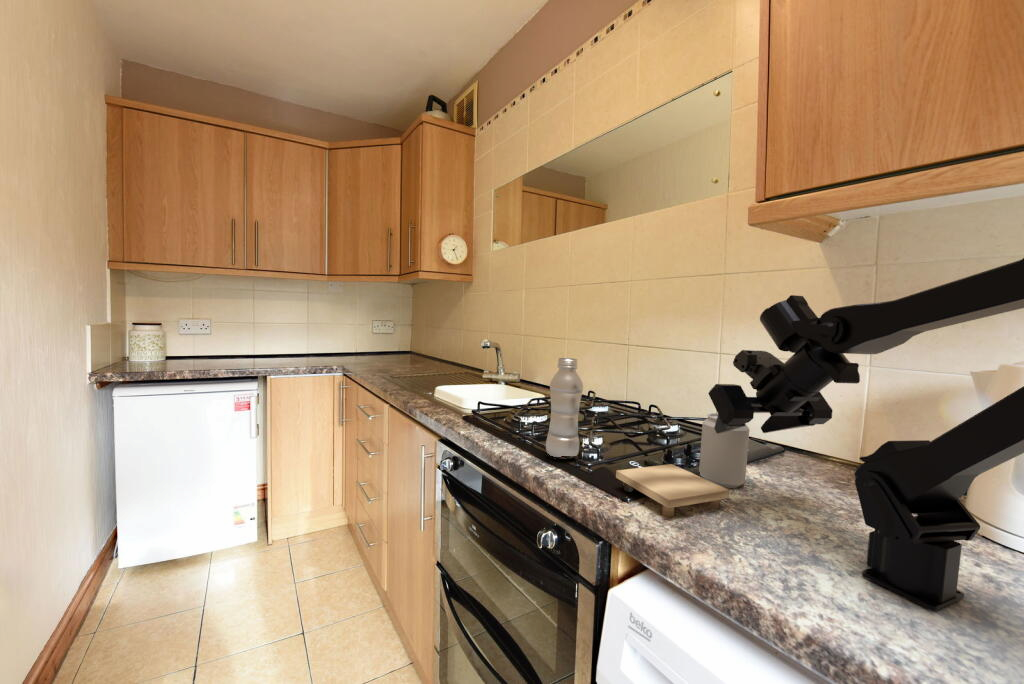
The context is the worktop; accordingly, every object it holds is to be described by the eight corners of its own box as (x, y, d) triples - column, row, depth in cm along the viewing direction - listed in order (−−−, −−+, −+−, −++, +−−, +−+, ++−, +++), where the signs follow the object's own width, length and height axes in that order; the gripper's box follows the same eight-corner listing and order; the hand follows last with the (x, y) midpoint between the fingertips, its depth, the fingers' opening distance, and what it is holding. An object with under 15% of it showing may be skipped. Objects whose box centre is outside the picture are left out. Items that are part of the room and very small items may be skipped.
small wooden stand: (728, 509, 65) (729, 490, 65) (667, 520, 61) (669, 499, 60) (670, 480, 76) (671, 464, 76) (615, 488, 72) (616, 470, 71)
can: (696, 483, 76) (701, 416, 75) (700, 471, 82) (704, 409, 82) (745, 493, 72) (750, 423, 71) (744, 479, 79) (749, 415, 78)
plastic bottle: (541, 453, 88) (546, 356, 87) (572, 452, 90) (578, 357, 88) (549, 463, 82) (555, 359, 81) (583, 463, 83) (589, 361, 82)
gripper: (822, 337, 69) (762, 392, 80) (721, 332, 65) (673, 390, 76) (867, 394, 62) (794, 446, 73) (757, 393, 58) (698, 448, 69)
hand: (739, 430), depth 73 cm, fingers open, 9 cm apart
